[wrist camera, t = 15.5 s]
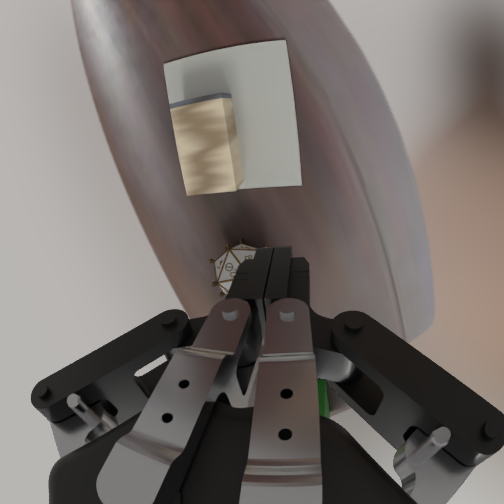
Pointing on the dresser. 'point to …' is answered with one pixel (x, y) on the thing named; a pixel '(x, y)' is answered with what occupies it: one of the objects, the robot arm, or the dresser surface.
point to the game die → (231, 264)
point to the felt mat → (249, 105)
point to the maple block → (207, 144)
